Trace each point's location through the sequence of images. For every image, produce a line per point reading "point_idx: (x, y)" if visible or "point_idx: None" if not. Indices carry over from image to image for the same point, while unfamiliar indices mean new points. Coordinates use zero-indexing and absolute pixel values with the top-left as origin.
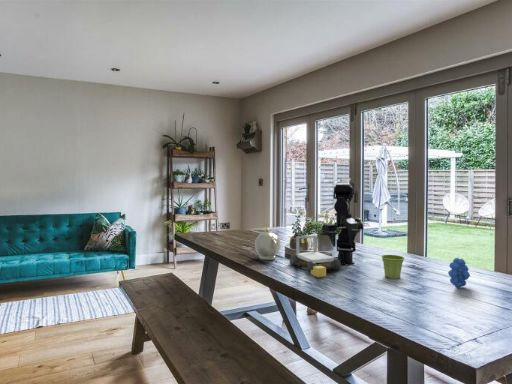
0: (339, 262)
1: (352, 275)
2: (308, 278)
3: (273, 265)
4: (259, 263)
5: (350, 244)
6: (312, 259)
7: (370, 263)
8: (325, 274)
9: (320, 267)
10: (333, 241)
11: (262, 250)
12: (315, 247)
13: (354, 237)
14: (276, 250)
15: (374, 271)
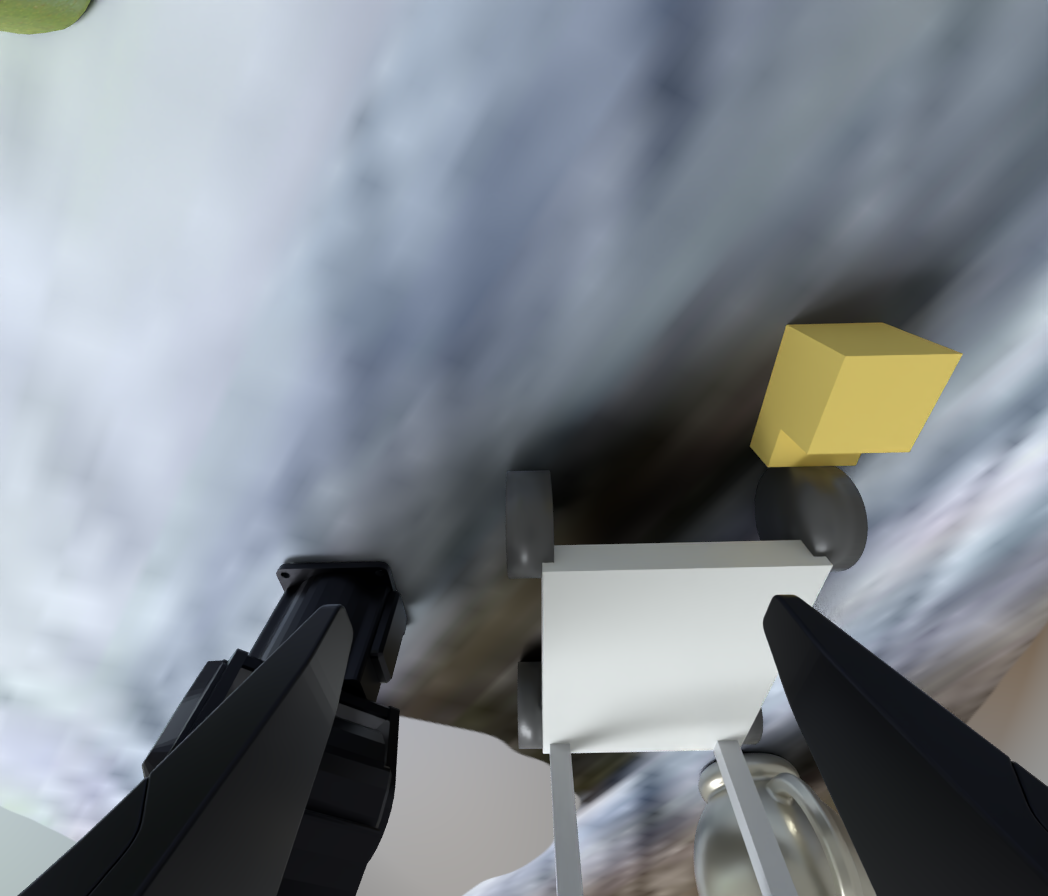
0: (517, 501)
1: (514, 238)
2: (990, 325)
3: None
4: None
5: (345, 635)
6: (808, 585)
7: (128, 537)
8: (805, 330)
9: (890, 387)
10: (941, 717)
11: None
12: (566, 791)
13: (133, 809)
14: (819, 811)
15: (179, 288)
